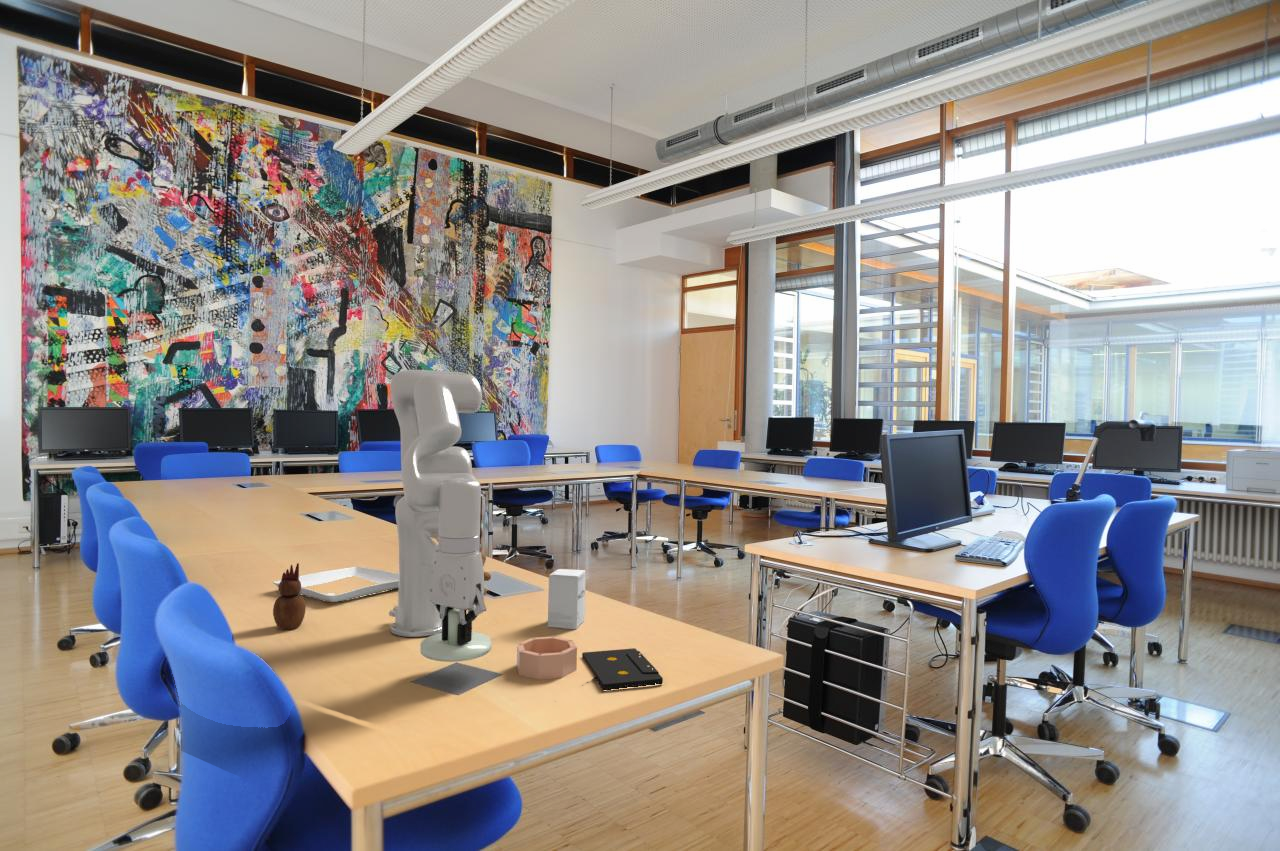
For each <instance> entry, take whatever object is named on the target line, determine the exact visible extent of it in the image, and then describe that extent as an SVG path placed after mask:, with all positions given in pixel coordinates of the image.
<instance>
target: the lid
mask: <svg viewBox="0 0 1280 851" xmlns="http://www.w3.org/2000/svg"><path fill="white" fill-rule="evenodd" d="M458 624H460V610H459V609H456V608H455V609H451V610H449V611H448V640H446V641H443V640H442V632H440V633H437V634H434V635H429V636H427V637H425V638H424V639H423V640H422V641H421V642H420V650H419V651H420V652H419V653H420V654H421V656H422V657H424V658H426V659H428V660H432V661H437V662H444V663H445V662H447V663H448V662H449V663H452V662H453V663H454V662H455V663H456V662H457V663H459V662H465V661H472V660H476V659H479V658H482V657H484V656H486V655H487V654H488V653H490V652H491V650H492V643H493V642H492V641H493V640H492V638H491V637H490V636H489V635H487V634H485V633H481V632H477V631H472V639H471V641H470V642H468V643H465V644H463V645H458V644H457V628H458Z"/></svg>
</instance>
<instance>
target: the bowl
mask: <svg viewBox="0 0 1280 851" xmlns="http://www.w3.org/2000/svg"><path fill="white" fill-rule="evenodd" d="M577 655H578V646H577V645H576V644H575V642H574V640H573V639H569V638H564V637H559V636H554V635H553V636H541V637H540V636H539V637H530V638H528V639H525V640H523V641H521V642H519V643H517V644H516V669H517V672H518V675H519V676H522V677H527V678H530V679H534V680H551V679H563V678H565V677H566V676H567V677H568V675H571V674H573V673H575V672H577V667H578V666H577V665H578V664H577V663H578V660H577V659H578V656H577Z"/></svg>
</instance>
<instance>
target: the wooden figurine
mask: <svg viewBox="0 0 1280 851" xmlns="http://www.w3.org/2000/svg"><path fill="white" fill-rule="evenodd" d="M281 576H282V577H281V579H280V580H281V582H280V583H279V587H278V586H277V588H278V593H279V595H280V596H277V597H276V599H275V602H274V603H273V609H272V616H273V619H274V623H275V625H276V626H277V627H278V628H280V629H282V630H293V629H294V630H295V629H297V628H299V627H301V626H302V623H303V622H304V619H305V614H306V609H307V608H306V607H307V606H306V602H305V598H304V596H303V595H299V593H300V591H301V582H300V581H299V576H300V564H299V562H296V565H295V570H294V568H293V564H290V568H289V569H288V568H287V569H286V571H285V572H283V573H282V575H281Z"/></svg>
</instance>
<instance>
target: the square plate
mask: <svg viewBox="0 0 1280 851" xmlns="http://www.w3.org/2000/svg"><path fill="white" fill-rule="evenodd" d="M352 576H356V577H359V578H363V579H366V580H369V581H371V582H376V583H379V584H375V585H371V586H367V587H363V588H359V589H355V590H352V591H349V592H345V593H341V594H338V595H335V594H334V593H328V594H324V593H323V594H322V593H319V592H316V591H313V590H310V589H306V588H302V587H307V586H313V585H317V584H318V585H319V584H323V583H328V582H332V581H335V580H339V579H343V578H346V577H352ZM281 580H282V579H279V580H275V581H273V582H272V584H274V585H275V586H277V588H278V587H279V583H280V582H281ZM299 581H300V582H301V591H300V593H299V594H302V595H301V596H303V595H306V596H305V597H307V596H310V597H309V598H311V597H313V598H312V599H315V598H317V599H316V600H319V599H321V600H320V601H323V600H325V601H324V602H327V601H330V602H329V603H339V602H338V601H342V602H344V601H343V600H347V599H352V598H356V597H360V596H364V595H369V594H373V593H378V592H382V591H386V590H391V589H393V590H395V589H399V572H398V573H397V572H392V571H389V570H388V571H387V570H382V569H377V568H369V567H364V566H352V567H345V568H340V569H339V568H338V569H332V570H326V571H325V570H324V571H318V572H314V573H308V574H303V575H299ZM391 591H392V590H391ZM299 594H298V595H299ZM378 594H379V593H378Z"/></svg>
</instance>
